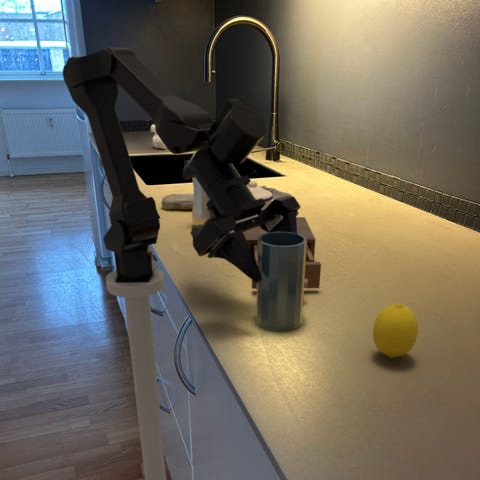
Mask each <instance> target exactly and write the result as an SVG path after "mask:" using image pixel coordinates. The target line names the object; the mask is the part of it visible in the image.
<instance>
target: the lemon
mask: <svg viewBox="0 0 480 480" xmlns="http://www.w3.org/2000/svg"><path fill="white" fill-rule="evenodd" d="M418 332H419V326H418V319H417V316H416V314H415V313H414V311H413V310H412V309H410V307H408V306H406V305H404V304H403V303H401V302H397V303H393V304H389V305H386V306H385V307H383V308H382V309H381V310H380V311H379V313H377V316H376V317H375V320H374V324H373V327H372V339H373V343H374V345H375V347H376V348H377V350H378V351H379V352H380V353H382V354H383V355H385V356H387V357H388V358H389V359H394V358H395V357H396V358H397V357H401V356H404V355H406V354H407V353H409V352H410V351H411V350H412V349H413V347H414V346H415V344H416V341H417V338H418Z"/></svg>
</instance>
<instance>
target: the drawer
mask: <svg viewBox="0 0 480 480" xmlns="http://www.w3.org/2000/svg"><path fill="white" fill-rule="evenodd" d="M257 251H258V244H253V256H254V259H255V261H256V263H257ZM321 270H322V263H321V261H315V257H314V258H313V256H312V254H311V251H310V249H309V246H308V244H307V246H306V262H305V279H304V289H320V283H321ZM251 289H253V290H254V289H255V290H257V283H256V282H254V281H253V280H252V279H251Z"/></svg>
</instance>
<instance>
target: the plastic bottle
mask: <svg viewBox="0 0 480 480" xmlns="http://www.w3.org/2000/svg"><path fill="white" fill-rule="evenodd" d="M196 152H197V151H194V152H193V154H192V156H191V158H190V160H191V159H192V158H193V156H194V155H195V153H196ZM191 179H192V186H193V194H194V200H193V210H192V211H191V220H192V223H193V224H194V226H198V225H203V224H204V222H206V221H207V220H208V219H210V217H211V216H210V213H209V211H208V210H207V206H206V204H207V202H208V201H209V200H210V199H209V198H208V196H207V195H206V193H205V192H204V190H203V189H202V187H201V185H200V184H199V182H198V181H197V179H196V178H191Z"/></svg>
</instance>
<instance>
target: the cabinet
mask: <svg viewBox="0 0 480 480" xmlns="http://www.w3.org/2000/svg"><path fill="white" fill-rule="evenodd" d="M296 219H297V234H301V235H302V236H304V237H306V240H307V244H308V246H309V249H310V251H311V254H312V256H313V258H314V259H315V251H316V237H315V235H314V233H313V231H312V229H311V227H310V225H309V222H308V221H307V219H306V217H305V216H296ZM253 221H254V220H253ZM253 221H252V222H253ZM265 233H268V232H266V231H264V230H262V229H261V227H260V226H258V227H255V228H252V229H250V230H247V231H244V236H245V238H246V240H247V243H248V245H249V247H250V250H251V252H252V254H253V244H258V237H259V236H260V235H262V234H265Z"/></svg>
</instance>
